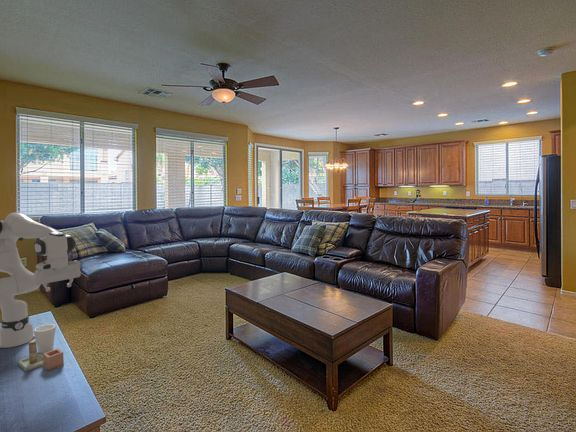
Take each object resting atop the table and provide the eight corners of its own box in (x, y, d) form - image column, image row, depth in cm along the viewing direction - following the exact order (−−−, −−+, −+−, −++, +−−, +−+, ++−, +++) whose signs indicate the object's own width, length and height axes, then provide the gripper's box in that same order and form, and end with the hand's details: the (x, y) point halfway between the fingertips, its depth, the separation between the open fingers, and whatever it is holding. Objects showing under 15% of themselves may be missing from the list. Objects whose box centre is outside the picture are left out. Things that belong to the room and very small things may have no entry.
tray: (18, 363, 159) (17, 360, 159) (39, 356, 167) (39, 353, 167) (26, 371, 153) (26, 368, 153) (48, 363, 160) (48, 360, 160)
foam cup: (44, 355, 168) (43, 332, 167) (30, 353, 170) (29, 330, 169) (60, 347, 177) (59, 324, 176) (47, 345, 179) (46, 323, 178)
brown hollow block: (43, 367, 157) (43, 353, 156) (58, 361, 162) (57, 348, 162) (48, 371, 153) (48, 357, 153) (63, 365, 159) (63, 352, 158)
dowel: (28, 362, 159) (27, 342, 158) (35, 360, 162) (34, 339, 161) (30, 364, 158) (29, 343, 157) (38, 362, 160) (37, 341, 159)
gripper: (77, 258, 173) (78, 283, 174) (31, 265, 156) (32, 292, 157) (82, 260, 170) (83, 285, 171) (36, 267, 153) (37, 295, 154)
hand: (58, 288), depth 164 cm, fingers open, 8 cm apart
